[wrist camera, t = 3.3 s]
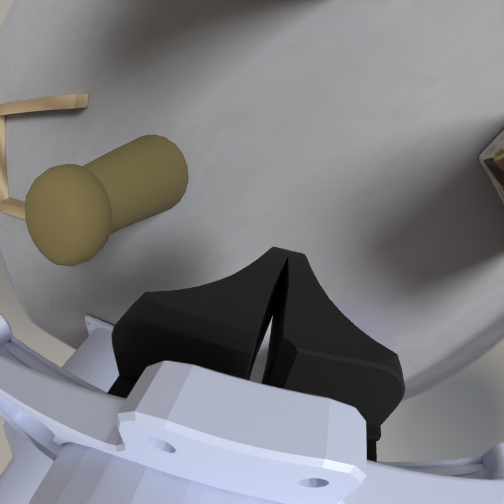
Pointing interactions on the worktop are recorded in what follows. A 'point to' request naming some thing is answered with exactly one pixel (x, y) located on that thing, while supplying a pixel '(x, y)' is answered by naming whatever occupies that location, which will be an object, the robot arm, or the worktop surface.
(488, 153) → the coffee box
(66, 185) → the olive pawn
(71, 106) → the wooden u-shaped frame
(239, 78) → the worktop surface
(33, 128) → the worktop surface
